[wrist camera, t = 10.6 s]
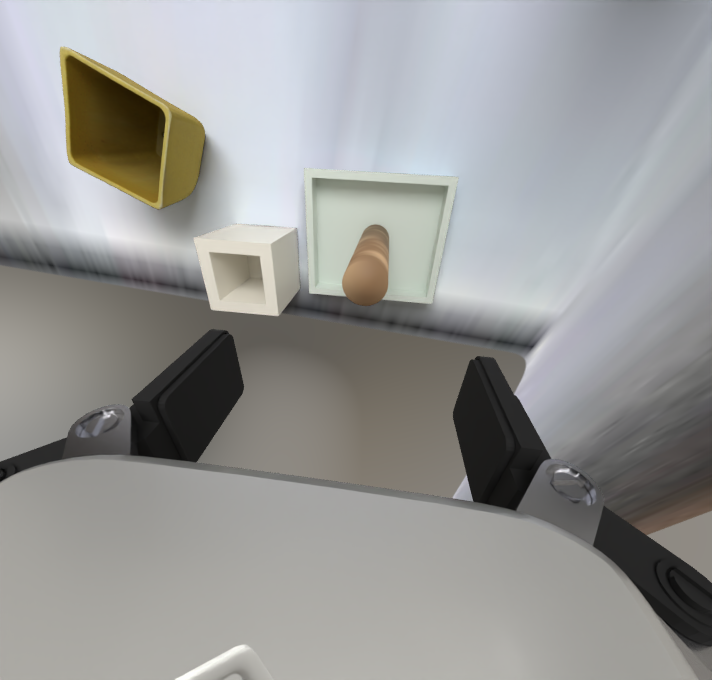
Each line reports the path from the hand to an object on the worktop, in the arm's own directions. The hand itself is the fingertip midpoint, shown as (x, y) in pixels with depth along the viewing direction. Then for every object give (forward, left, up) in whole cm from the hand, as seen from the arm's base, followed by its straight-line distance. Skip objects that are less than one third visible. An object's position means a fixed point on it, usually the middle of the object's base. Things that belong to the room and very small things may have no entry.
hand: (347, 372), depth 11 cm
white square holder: (+14, +4, -28) cm, 31 cm away
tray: (0, 0, -28) cm, 28 cm away
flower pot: (+23, -8, -28) cm, 37 cm away
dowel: (0, 0, -27) cm, 27 cm away
